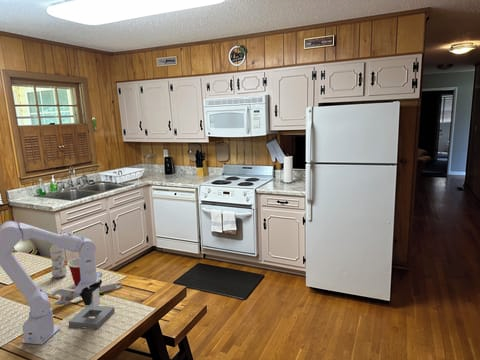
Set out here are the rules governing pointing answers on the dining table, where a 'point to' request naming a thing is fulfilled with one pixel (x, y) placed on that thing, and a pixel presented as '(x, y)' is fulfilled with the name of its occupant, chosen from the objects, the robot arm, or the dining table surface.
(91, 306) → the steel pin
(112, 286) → the wrench
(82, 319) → the socket block
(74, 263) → the plastic cup
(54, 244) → the plastic bottle
